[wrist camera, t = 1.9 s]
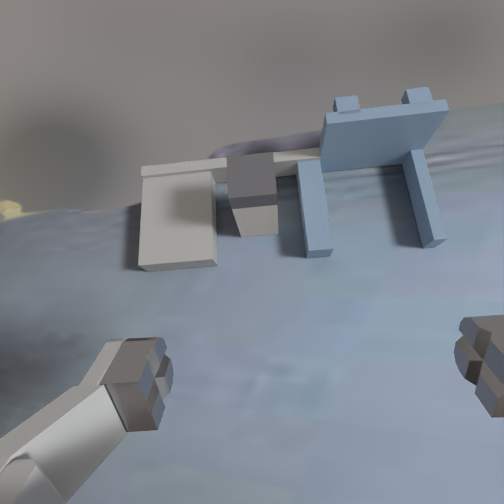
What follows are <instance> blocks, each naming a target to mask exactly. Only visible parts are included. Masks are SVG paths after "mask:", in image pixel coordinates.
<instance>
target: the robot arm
mask: <svg viewBox="0 0 504 504" xmlns="http://www.w3.org/2000/svg"><path fill="white" fill-rule="evenodd" d="M459 330H460V332H461V333H462V334H463V336H462V337H461V338H460V339H459V340H458V341H457V342H456V344H455V349H454V355H455V361H456V364H457V366H458V369H459V371H460V372H461V374H462V375H463V377H464V378H465V379H466V380H468V381H469V382H471V383H473V384H474V385H476V389H475V394H476V396H477V397H478V399H479V400H480V401H481V403H482V404H483V406H484V407H485V409H486V410H487V412H488V413H489V414H490V416H491V417H504V315H492V316H478V317H464V318H463V320H462V321H461V322H460V326H459ZM166 348H167V346H166V344H165V341H164V339H163V338H161V337H152V338H128V339H111V340H110V341H108V342H106V344H105V345H104V347H103V348H102V350H101V352H100V353H99V355H98V356H97V358H96V359H95V361H94V363H93V364H92V366H91V367H90V369H89V370H88V372H87V374H86V375H85V377H84V378H83V380H82V381H81V383H80V384H79V386H73V387H72V388H70V389H69V390H67V391H66V392H65V393H63V394H62V395H60V396H59V397H58V398H56V399H55V400H53V401H52V402H51V403H49V404H48V405H46V406H45V407H44V408H42V409H41V410H39V411H38V412H37V413H35V414H34V415H33V416H31V417H30V418H28V419H27V420H26V421H24V422H23V423H21V424H20V425H19V426H17V427H16V428H14V429H13V430H12V431H10V432H9V433H7V434H6V435H5V436H3V437H2V438H0V504H67V501H68V500H69V499H70V498H71V497H72V496H73V495H74V494H75V492H76V491H77V490H78V489H79V488H80V487H81V486H82V484H83V483H84V482H85V481H86V480H87V479H88V478H89V477H90V475H91V474H92V473H93V472H94V471H95V470H96V469H97V467H98V466H99V465H100V464H101V463H102V462H103V461H104V460H105V458H106V457H107V456H108V455H109V454H110V453H111V452H112V450H113V449H114V448H115V447H116V446H117V445H118V444H119V443H120V441H121V440H122V439H123V438H124V437H125V436H126V435H127V432H136V431H150V430H158V428H159V425H160V422H161V419H162V416H163V412H164V409H165V405H164V402H163V399H164V398H165V397H166V396H167V395H168V394H169V393H170V390H171V387H172V383H173V365H172V362H171V359H170V358H169V357H167V356H166V355H165V351H166Z"/></svg>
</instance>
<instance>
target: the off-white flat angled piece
mask: <svg viewBox="0 0 504 504" xmlns="http://www.w3.org/2000/svg"><path fill="white" fill-rule="evenodd" d="M273 158H274V168H275V177H281V176H291V175H296V173H297V162H305V161H315V160H320V158H321V157H320V150H319V148H310V149H300V150H291V151H282V152H273ZM141 177H142V178H143V186H142V204H141V223H140V241H139V260H138V266H140V267H141V268H143V269H145V270H146V271H148V272H152V271H163V270H175V269H187V268H198V267H210V266H218V258H217V224H216V190H215V183H223V182H227V160H226V158H217V159H208V160H198V161H189V162H180V163H171V164H161V165H152V166H143V167H141Z"/></svg>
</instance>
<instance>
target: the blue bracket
mask: <svg viewBox="0 0 504 504" xmlns="http://www.w3.org/2000/svg"><path fill="white" fill-rule="evenodd" d="M401 100H402V104H401V105H392V106H384V107H376V108H366V109H360V107H359V102H358V98H357V95H355V96H347V97H338V98H335V100H334V105H333V110H334V112H331V113H325V119H324V124H323V129H322V134H321V140H320V145H319V150H320V157H321V158H320V160H315V161H305V162H297V173H296V176H297V184H298V192H299V201H300V209H301V217H302V225H303V233H304V241H305V249H306V257H307V258H316V257H327V256H330V255H331V253H332V251H333V249H334V248H333V241H332V235H331V228H330V222H329V215H328V209H327V202H326V196H325V189H324V183H323V176H322V172H330V171H340V170H350V169H359V168H369V167H379V166H389V165H398V164H402V166H403V170H404V174H405V178H406V182H407V186H408V190H409V194H410V198H411V202H412V206H413V210H414V214H415V218H416V222H417V226H418V231H419V235H420V239H421V243H422V247H423V248H433V247H436V246H438V245H439V244H441V243H442V242H443V241H445V240H446V239H447V236H446V232H445V228H444V225H443V221H442V218H441V214H440V210H439V207H438V203H437V199H436V196H435V192H434V189H433V185H432V181H431V178H430V174H429V171H428V167H427V163H426V160H425V156H424V153H423V148H424V146H425V145H426V143H427V142H428V141H429V139H430V138H431V136H432V135H433V133H434V132H435V130H436V129H437V127H438V126H439V125H440V123H441V122H442V120H443V119H444V117H445V116H446V114H447V113H448V111H449V108H448V105H447V102H446V99H445V100H437V101H433V100H432V96H431V93H430V90H429V87H423V88H415V89H407V90H406V91H405V93H404V95H403V97H402V99H401Z"/></svg>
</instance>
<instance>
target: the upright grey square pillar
mask: <svg viewBox="0 0 504 504" xmlns="http://www.w3.org/2000/svg"><path fill="white" fill-rule="evenodd" d="M226 160H227V183H228V199H229V202H230V205H231V208H232V211H233V214H234V217H235V220H236V223H237V226H238V229H239V232H240V234H241V237H251V236H262V235H273V234H278V209H277V188H276V178H275V168H274V158H273V152H267V153H258V154H248V155H239V156H230V157H226Z"/></svg>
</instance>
